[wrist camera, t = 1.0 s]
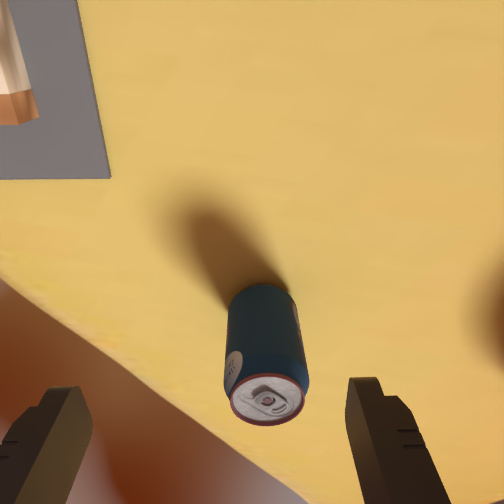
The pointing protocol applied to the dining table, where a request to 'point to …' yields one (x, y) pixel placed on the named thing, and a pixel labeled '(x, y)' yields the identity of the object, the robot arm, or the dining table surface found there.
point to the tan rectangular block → (13, 75)
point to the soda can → (265, 357)
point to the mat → (54, 99)
